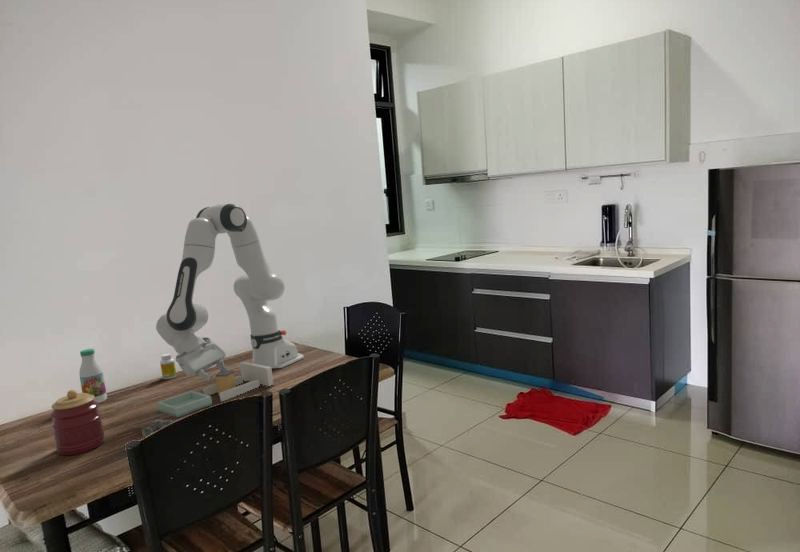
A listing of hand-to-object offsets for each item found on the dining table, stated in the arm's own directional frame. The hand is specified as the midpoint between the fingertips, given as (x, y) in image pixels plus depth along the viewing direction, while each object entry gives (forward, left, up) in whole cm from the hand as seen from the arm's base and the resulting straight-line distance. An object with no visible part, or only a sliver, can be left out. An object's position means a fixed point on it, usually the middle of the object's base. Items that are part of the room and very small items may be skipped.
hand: (218, 374), depth 207 cm
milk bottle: (+29, -40, -7) cm, 49 cm away
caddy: (-1, +2, -7) cm, 8 cm away
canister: (+49, +2, -7) cm, 49 cm away
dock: (-5, +2, -7) cm, 9 cm away
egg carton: (+31, +16, -8) cm, 35 cm away
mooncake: (-16, -42, -8) cm, 45 cm away
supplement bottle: (-1, -42, -7) cm, 42 cm away
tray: (+15, +1, -7) cm, 16 cm away
